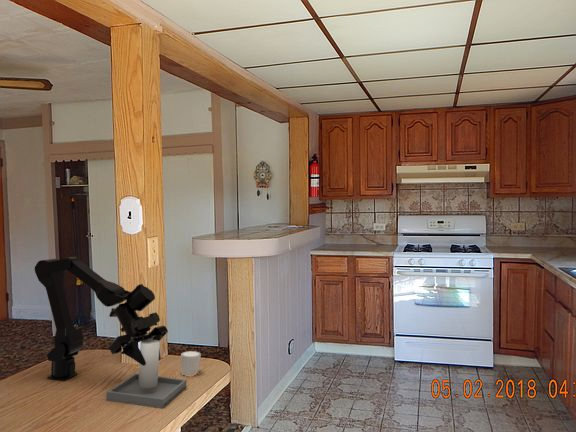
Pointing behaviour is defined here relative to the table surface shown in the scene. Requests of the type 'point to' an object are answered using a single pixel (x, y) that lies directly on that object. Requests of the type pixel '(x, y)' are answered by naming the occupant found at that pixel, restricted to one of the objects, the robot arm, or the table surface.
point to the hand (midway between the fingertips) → (152, 362)
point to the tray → (146, 392)
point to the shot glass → (190, 362)
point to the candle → (149, 364)
